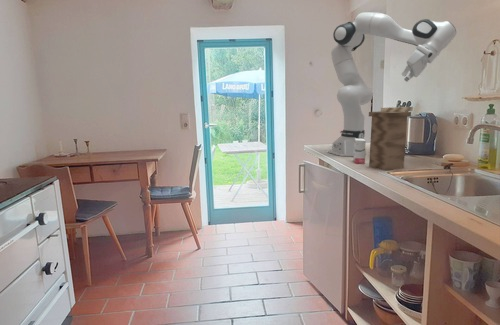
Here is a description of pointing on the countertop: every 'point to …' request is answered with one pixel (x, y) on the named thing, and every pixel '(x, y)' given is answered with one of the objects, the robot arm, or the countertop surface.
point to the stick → (396, 109)
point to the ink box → (359, 150)
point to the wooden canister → (388, 139)
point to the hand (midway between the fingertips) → (404, 78)
